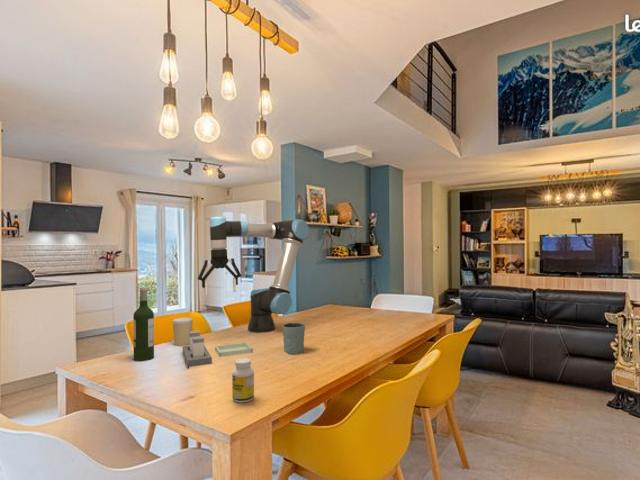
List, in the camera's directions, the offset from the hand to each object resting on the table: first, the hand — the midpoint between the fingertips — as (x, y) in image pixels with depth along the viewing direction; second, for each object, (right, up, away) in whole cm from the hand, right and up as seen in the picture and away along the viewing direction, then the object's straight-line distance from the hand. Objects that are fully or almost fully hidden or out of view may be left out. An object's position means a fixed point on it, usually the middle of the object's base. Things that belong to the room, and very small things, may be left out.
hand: (220, 293), depth 178 cm
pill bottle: (+24, -23, -65) cm, 73 cm away
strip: (-4, -24, -22) cm, 33 cm away
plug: (-2, -24, -28) cm, 37 cm away
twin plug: (-7, -25, -17) cm, 30 cm away
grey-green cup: (+36, -24, -14) cm, 46 cm away
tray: (+9, -24, -14) cm, 29 cm away
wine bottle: (-27, -25, -21) cm, 42 cm away
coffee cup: (-19, -25, +3) cm, 32 cm away
